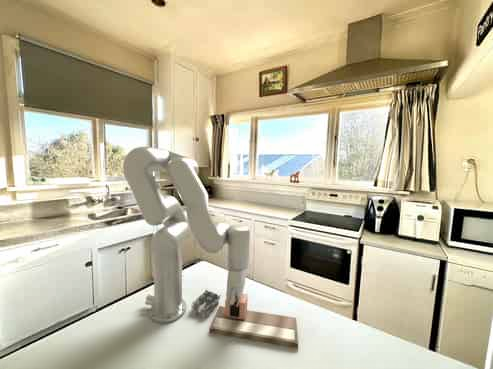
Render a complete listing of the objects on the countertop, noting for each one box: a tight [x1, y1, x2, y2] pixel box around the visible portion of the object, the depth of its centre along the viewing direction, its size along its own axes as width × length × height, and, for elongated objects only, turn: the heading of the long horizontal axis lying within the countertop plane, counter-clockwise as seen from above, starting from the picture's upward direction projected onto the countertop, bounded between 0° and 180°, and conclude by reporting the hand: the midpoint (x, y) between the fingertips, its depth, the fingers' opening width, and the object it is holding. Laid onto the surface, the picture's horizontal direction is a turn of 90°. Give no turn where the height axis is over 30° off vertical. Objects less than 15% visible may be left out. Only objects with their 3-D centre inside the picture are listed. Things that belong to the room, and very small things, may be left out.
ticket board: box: [208, 305, 299, 349], centre depth 72 cm, size 28×11×2 cm, turn 80°
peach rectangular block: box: [224, 293, 249, 320], centre depth 76 cm, size 7×5×6 cm
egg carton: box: [190, 289, 221, 319], centre depth 81 cm, size 11×8×4 cm
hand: (236, 309), depth 76 cm, fingers closed on peach rectangular block, 5 cm apart
